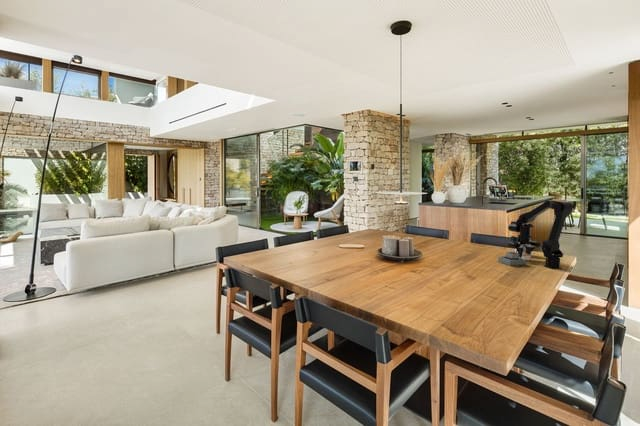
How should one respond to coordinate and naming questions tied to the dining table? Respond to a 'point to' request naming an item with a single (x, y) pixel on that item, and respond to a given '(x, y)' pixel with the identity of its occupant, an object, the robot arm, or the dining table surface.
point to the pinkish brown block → (525, 256)
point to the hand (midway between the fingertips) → (523, 257)
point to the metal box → (512, 256)
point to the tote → (512, 261)
